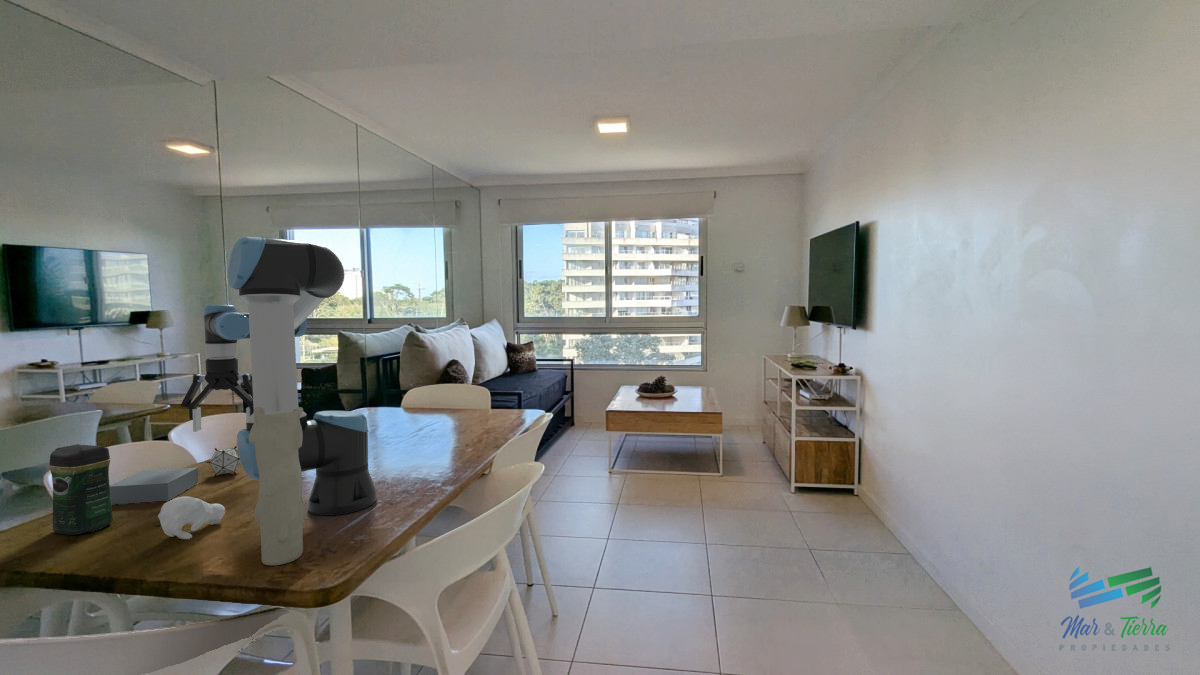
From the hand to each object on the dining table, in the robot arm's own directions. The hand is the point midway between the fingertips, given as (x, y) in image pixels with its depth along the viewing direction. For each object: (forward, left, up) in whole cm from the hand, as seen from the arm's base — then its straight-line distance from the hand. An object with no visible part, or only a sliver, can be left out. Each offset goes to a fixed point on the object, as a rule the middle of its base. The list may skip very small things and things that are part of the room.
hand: (224, 429), depth 147 cm
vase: (-59, -36, -13) cm, 71 cm away
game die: (0, 0, -14) cm, 14 cm away
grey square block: (-14, +10, -14) cm, 22 cm away
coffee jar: (-35, +12, -14) cm, 40 cm away
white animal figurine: (-42, -13, -14) cm, 46 cm away
